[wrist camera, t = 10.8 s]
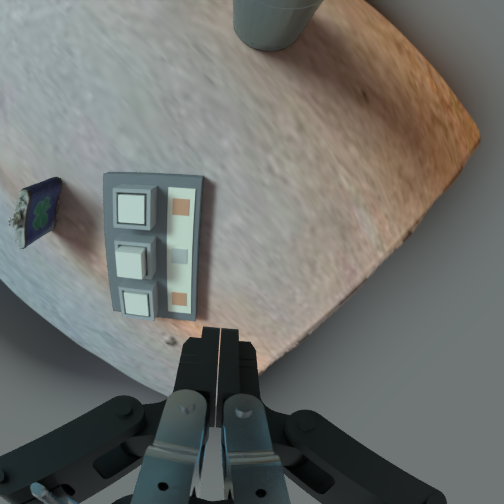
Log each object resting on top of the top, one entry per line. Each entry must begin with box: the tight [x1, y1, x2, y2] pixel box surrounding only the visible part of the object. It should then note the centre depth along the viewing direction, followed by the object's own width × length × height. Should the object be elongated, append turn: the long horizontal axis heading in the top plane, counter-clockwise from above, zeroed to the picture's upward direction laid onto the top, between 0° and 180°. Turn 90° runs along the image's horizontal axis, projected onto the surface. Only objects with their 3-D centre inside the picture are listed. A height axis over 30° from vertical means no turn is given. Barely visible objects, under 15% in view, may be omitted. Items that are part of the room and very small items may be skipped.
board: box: [103, 172, 204, 321], centre depth 38 cm, size 22×14×5 cm, turn 174°
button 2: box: [118, 193, 147, 224], centre depth 35 cm, size 4×4×3 cm
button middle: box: [115, 245, 148, 279], centre depth 36 cm, size 4×4×3 cm
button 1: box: [124, 291, 150, 316], centre depth 40 cm, size 4×4×3 cm
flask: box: [8, 177, 62, 249], centre depth 32 cm, size 9×3×11 cm, turn 157°
